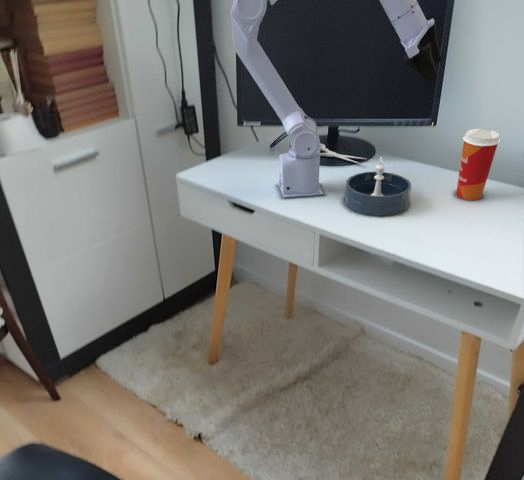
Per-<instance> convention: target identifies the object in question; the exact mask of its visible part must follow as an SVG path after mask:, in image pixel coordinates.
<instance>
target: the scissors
mask: <svg viewBox="0 0 524 480" xmlns="http://www.w3.org/2000/svg"><path fill="white" fill-rule="evenodd" d="M319 149H320V151H323V152H322V153H321V152H320V157H331V158H332V157H334V158H339V159H342V160H344V161H349V162H352V163H355V164H359V165H362V162H361V163H360V162H358V161H355V160H353V159H363V160H366V158H365V157H360V156H359V157H358V156H353V155H346V154H340V153H337V152H335V151H332V150H329V148H326V145H325V144H324V143H320V146H319ZM350 158H353V159H350Z"/></svg>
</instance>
